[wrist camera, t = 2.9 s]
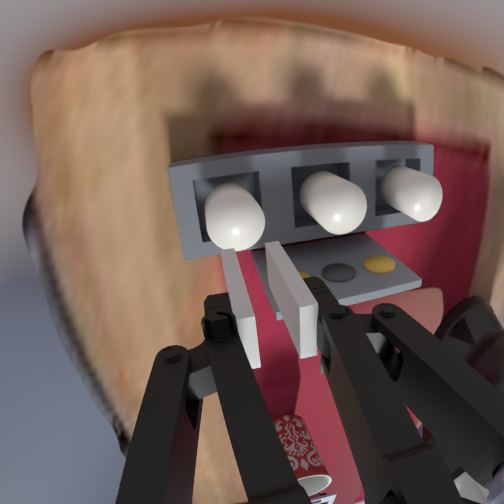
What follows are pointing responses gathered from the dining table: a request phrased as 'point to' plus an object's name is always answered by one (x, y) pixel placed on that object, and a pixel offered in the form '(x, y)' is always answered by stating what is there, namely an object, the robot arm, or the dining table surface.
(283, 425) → the mug
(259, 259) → the card
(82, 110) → the dining table surface
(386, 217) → the button board
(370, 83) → the dining table surface
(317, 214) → the button middle
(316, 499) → the maze game
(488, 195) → the dining table surface
